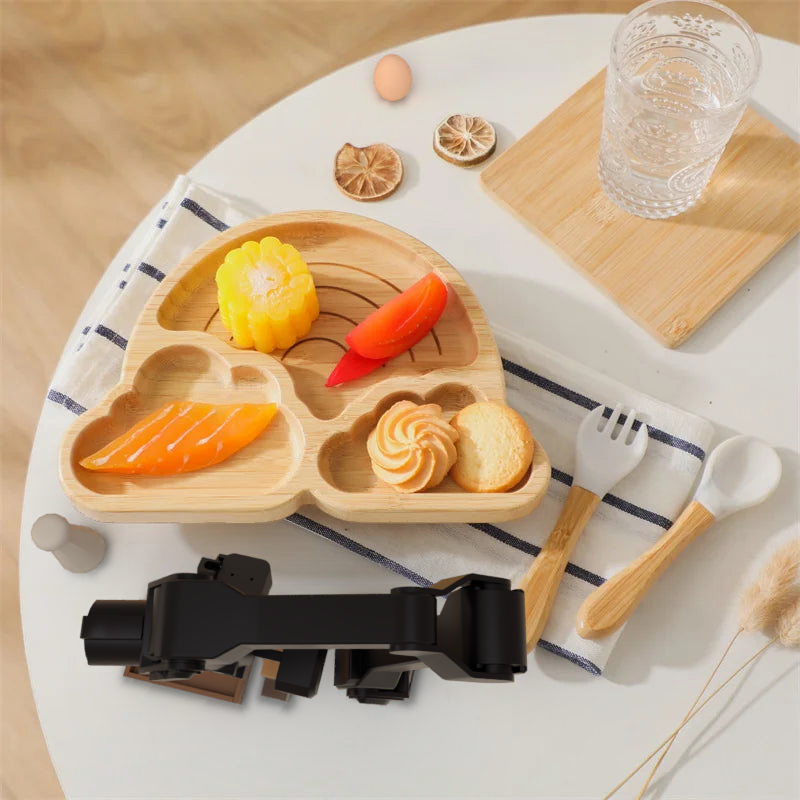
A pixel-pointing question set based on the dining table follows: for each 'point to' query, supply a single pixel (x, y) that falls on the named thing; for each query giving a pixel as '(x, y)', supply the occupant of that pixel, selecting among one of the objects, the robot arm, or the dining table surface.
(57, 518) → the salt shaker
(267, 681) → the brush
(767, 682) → the dining table surface
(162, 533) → the dining table surface
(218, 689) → the tray
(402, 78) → the egg
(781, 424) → the dining table surface
